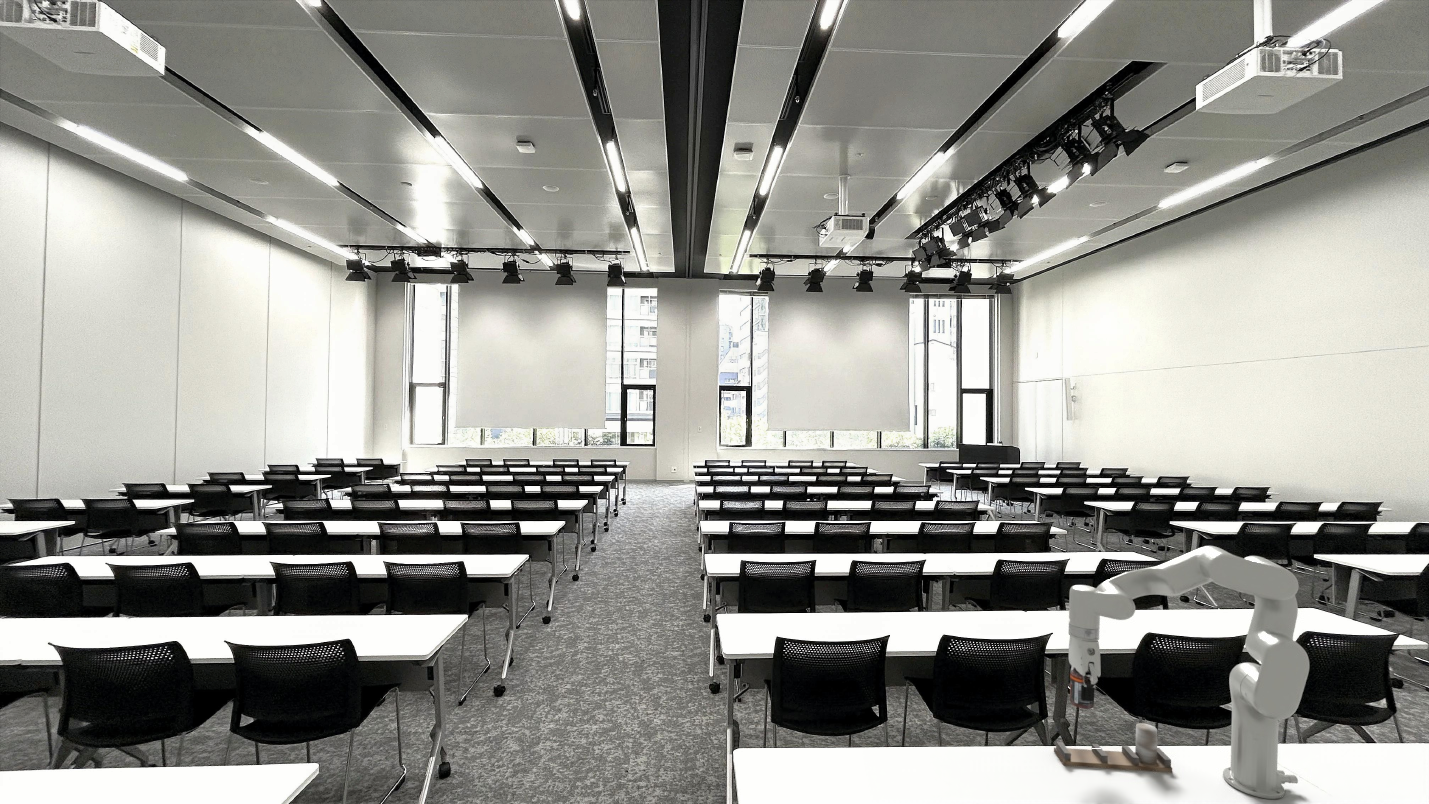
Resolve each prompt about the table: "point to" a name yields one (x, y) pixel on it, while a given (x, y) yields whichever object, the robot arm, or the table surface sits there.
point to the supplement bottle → (1078, 690)
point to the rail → (1120, 754)
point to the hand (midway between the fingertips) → (1082, 694)
